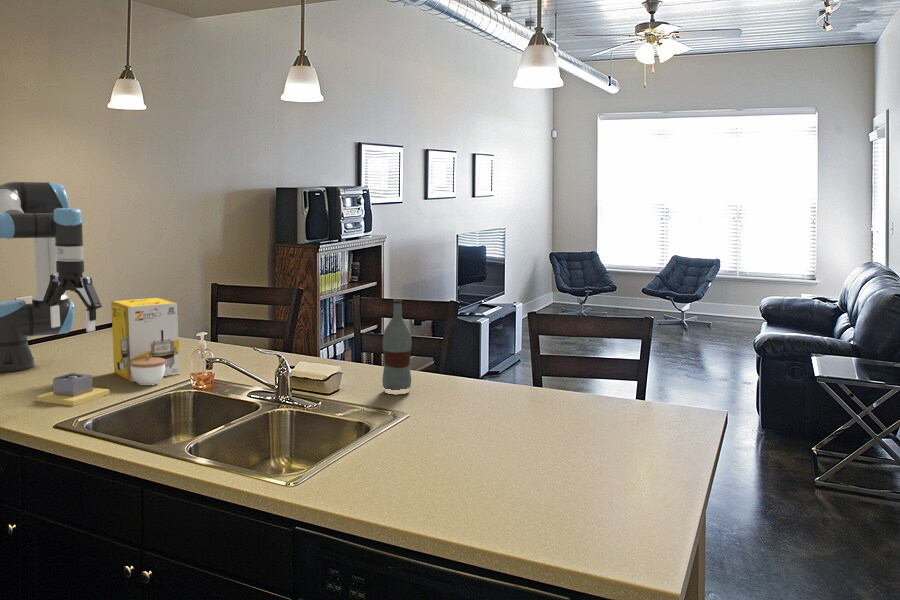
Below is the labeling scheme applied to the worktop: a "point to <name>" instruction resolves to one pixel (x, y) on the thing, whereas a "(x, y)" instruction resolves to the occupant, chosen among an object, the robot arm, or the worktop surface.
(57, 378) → the grey square hollow block
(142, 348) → the packaging box
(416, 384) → the worktop surface
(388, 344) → the bottle
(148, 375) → the lidded jar
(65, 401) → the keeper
